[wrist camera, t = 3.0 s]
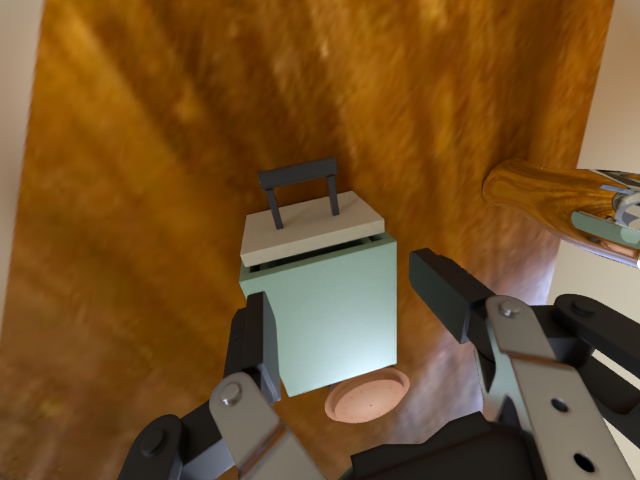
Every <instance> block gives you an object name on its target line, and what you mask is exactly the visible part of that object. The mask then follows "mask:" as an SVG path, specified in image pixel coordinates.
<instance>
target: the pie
mask: <svg viewBox="0 0 640 480" xmlns="http://www.w3.org/2000/svg"><path fill="white" fill-rule="evenodd" d="M409 385H410V383H409V378H408V376H407V375H406V374H405V373H404V372H403V371H401V370H400V369H398V368H396V367H394V366H392V365H390V366H387V367H384V368H381V369H377V370H374V371H371V372H368V373H365V374H362V375H358V376H355V377H352V378H349V379H346V380H342V381H339V382H336V383H333V384H331V386H330V389H329V393H328V395H327V397H326V400H325V411H326V413H327V415H328V416H329V417H330V418H332V419H333V420H336V421H343V422H347V423H359V422H365V421H369V420H372V419H375V418H377V417H379V416H382V415H384V414H385V413H387V412H388V411H390V410H392V409H393V408H394V407H395V406H396V405H397V404H398V403H399V402H400V400H401V399H402V397H403V396H404V395H405V393H406V392H407V390H408V388H409Z"/></svg>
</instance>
